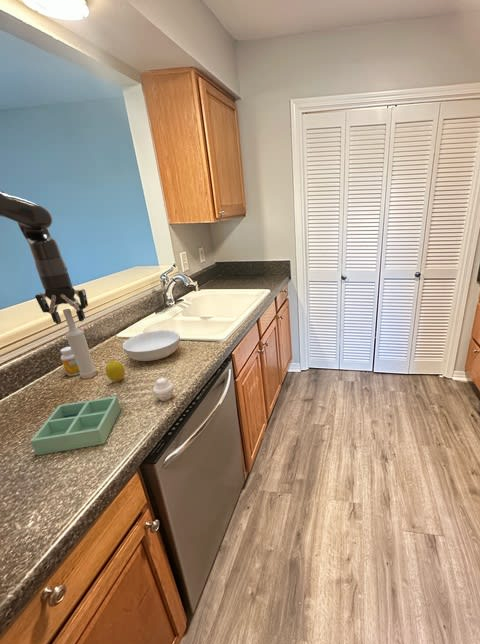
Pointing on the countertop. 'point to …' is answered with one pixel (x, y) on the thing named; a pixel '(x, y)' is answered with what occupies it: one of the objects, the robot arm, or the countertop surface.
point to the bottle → (79, 347)
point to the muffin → (163, 389)
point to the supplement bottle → (69, 362)
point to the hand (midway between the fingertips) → (70, 321)
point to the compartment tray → (77, 426)
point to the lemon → (115, 370)
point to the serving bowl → (152, 345)
